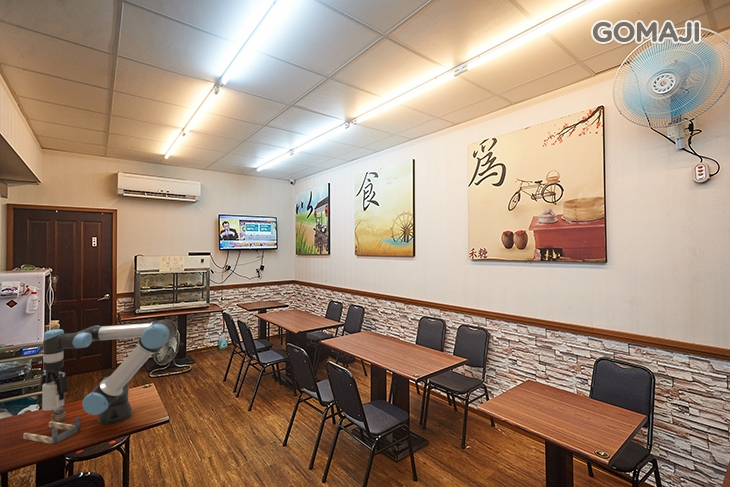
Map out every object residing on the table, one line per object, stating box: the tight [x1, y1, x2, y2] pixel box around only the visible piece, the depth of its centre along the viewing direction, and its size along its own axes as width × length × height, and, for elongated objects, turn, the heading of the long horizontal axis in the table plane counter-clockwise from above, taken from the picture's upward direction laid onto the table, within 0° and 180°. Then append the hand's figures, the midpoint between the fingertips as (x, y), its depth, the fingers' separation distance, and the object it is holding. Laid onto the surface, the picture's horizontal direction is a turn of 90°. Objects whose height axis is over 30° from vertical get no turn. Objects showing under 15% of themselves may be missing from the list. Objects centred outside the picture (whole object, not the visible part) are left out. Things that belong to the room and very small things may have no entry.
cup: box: [41, 380, 64, 412], centre depth 169 cm, size 8×8×12 cm
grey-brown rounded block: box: [50, 406, 67, 423], centre depth 183 cm, size 7×4×7 cm, turn 77°
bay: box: [22, 416, 81, 445], centre depth 169 cm, size 20×12×7 cm, turn 77°
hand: (53, 405), depth 169 cm, fingers closed on cup, 8 cm apart
